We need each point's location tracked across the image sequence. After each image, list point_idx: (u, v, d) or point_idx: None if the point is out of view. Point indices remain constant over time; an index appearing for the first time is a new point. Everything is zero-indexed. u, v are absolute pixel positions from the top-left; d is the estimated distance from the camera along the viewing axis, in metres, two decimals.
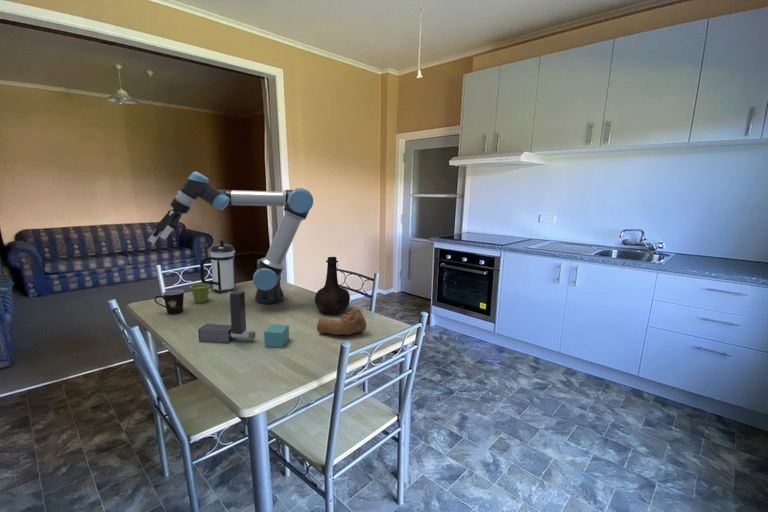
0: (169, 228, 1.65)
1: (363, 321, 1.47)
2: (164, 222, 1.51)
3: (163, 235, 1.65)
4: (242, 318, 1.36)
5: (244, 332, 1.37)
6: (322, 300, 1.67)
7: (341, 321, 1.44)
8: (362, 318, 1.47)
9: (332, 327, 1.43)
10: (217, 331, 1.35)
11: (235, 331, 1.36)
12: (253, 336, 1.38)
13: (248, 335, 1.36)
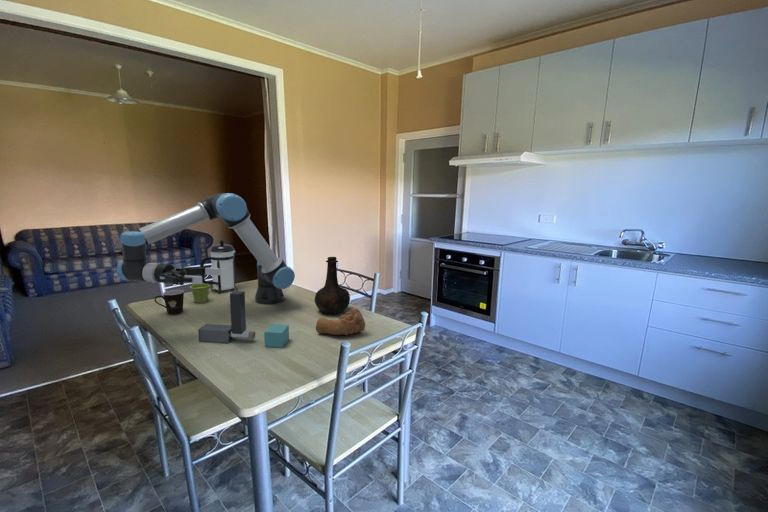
0: (206, 271, 1.41)
1: (362, 321, 1.47)
2: (169, 278, 1.26)
3: (217, 272, 1.41)
4: (242, 318, 1.36)
5: (244, 332, 1.37)
6: (322, 300, 1.67)
7: (340, 321, 1.44)
8: (361, 318, 1.47)
9: (331, 327, 1.43)
10: (217, 331, 1.35)
11: (235, 331, 1.36)
12: (253, 336, 1.38)
13: (248, 335, 1.36)
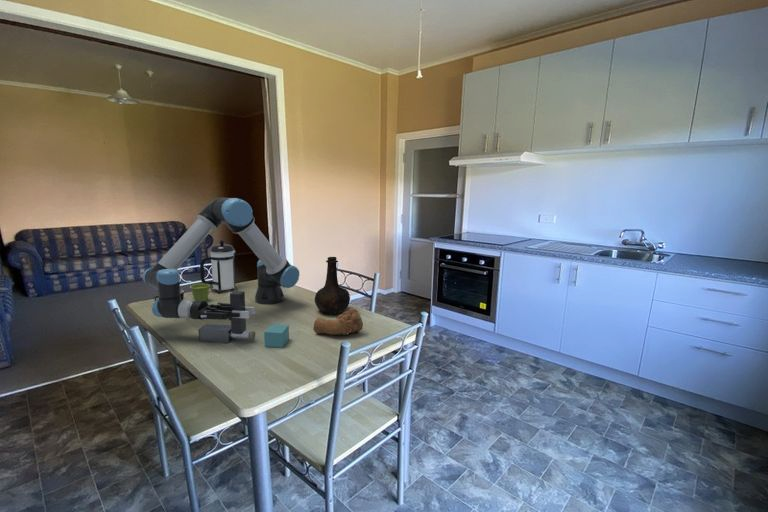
0: None
1: (360, 321, 1.47)
2: (216, 315, 1.31)
3: (250, 311, 1.38)
4: (242, 318, 1.36)
5: (244, 332, 1.37)
6: (322, 300, 1.67)
7: (338, 321, 1.44)
8: (359, 318, 1.47)
9: (329, 327, 1.43)
10: (217, 331, 1.35)
11: (235, 331, 1.36)
12: (253, 336, 1.38)
13: (248, 335, 1.36)
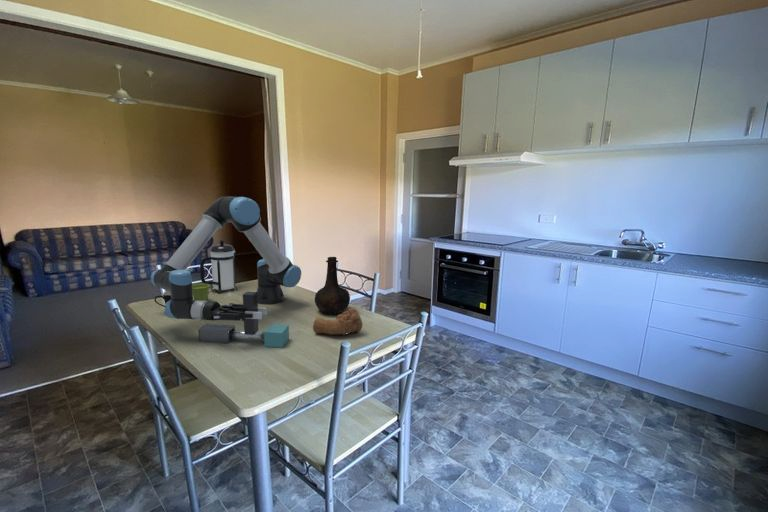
0: None
1: (359, 321, 1.47)
2: (229, 316, 1.31)
3: (263, 312, 1.38)
4: None
5: (257, 333, 1.37)
6: (322, 300, 1.67)
7: (337, 321, 1.44)
8: (358, 318, 1.47)
9: (328, 327, 1.43)
10: (217, 331, 1.35)
11: (248, 332, 1.36)
12: None
13: (261, 336, 1.36)
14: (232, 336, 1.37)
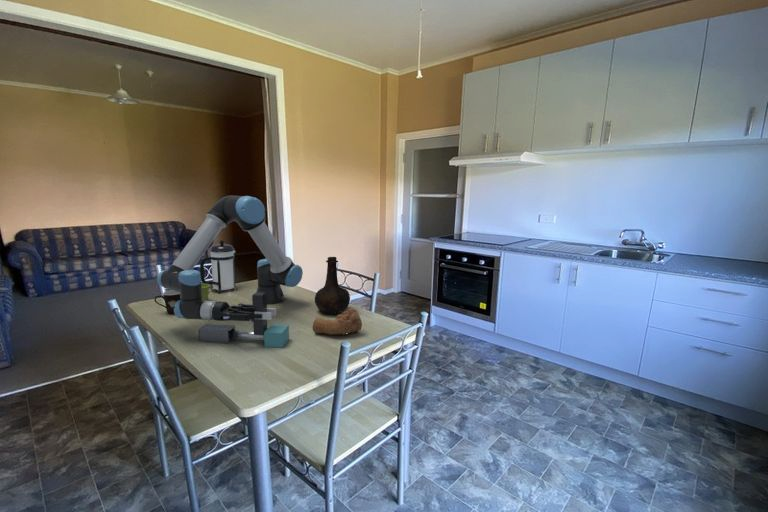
0: None
1: (359, 321, 1.47)
2: (239, 316, 1.30)
3: (272, 312, 1.38)
4: (264, 319, 1.35)
5: None
6: (322, 300, 1.67)
7: (337, 321, 1.44)
8: (358, 318, 1.47)
9: (328, 327, 1.43)
10: (217, 331, 1.35)
11: (257, 332, 1.35)
12: None
13: None
14: (241, 337, 1.37)
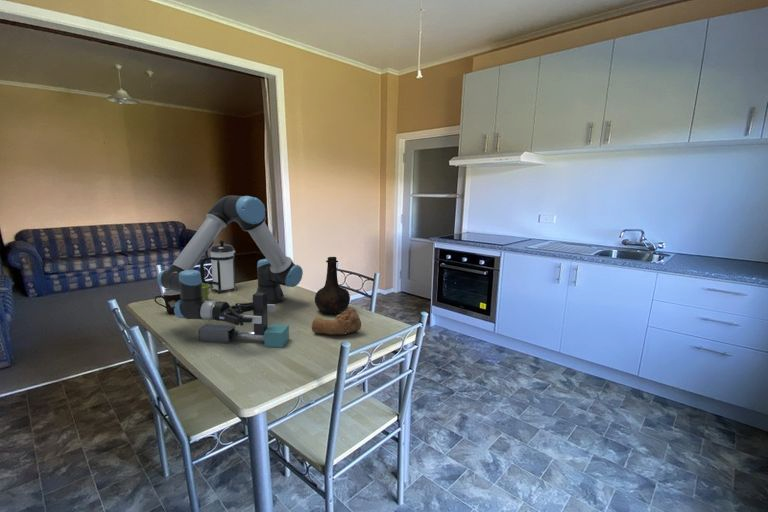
0: None
1: (358, 320, 1.47)
2: (230, 319, 1.28)
3: (271, 308, 1.42)
4: (264, 319, 1.35)
5: None
6: (322, 300, 1.67)
7: (336, 321, 1.44)
8: (357, 317, 1.47)
9: (327, 327, 1.43)
10: (217, 331, 1.35)
11: (257, 332, 1.35)
12: None
13: None
14: (242, 337, 1.37)
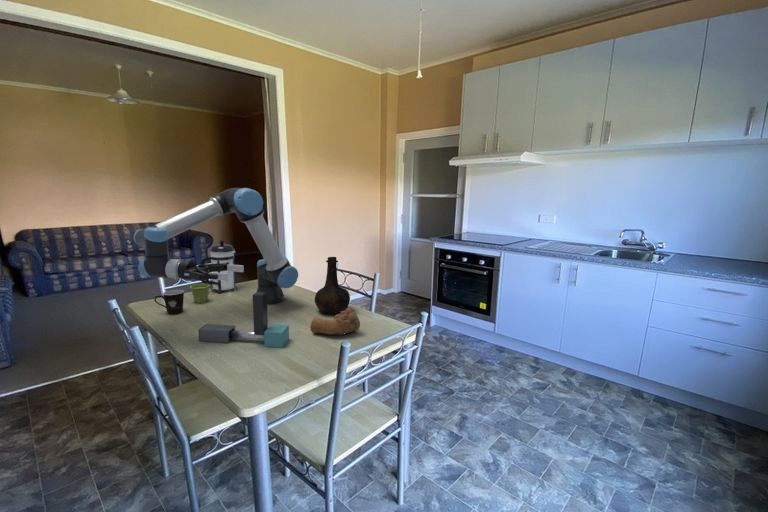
0: (228, 267, 1.41)
1: (357, 320, 1.47)
2: (195, 275, 1.26)
3: (239, 269, 1.41)
4: (264, 319, 1.35)
5: None
6: (322, 300, 1.67)
7: (335, 321, 1.44)
8: (356, 317, 1.47)
9: (326, 327, 1.43)
10: (217, 331, 1.35)
11: (257, 332, 1.35)
12: None
13: None
14: (242, 337, 1.37)
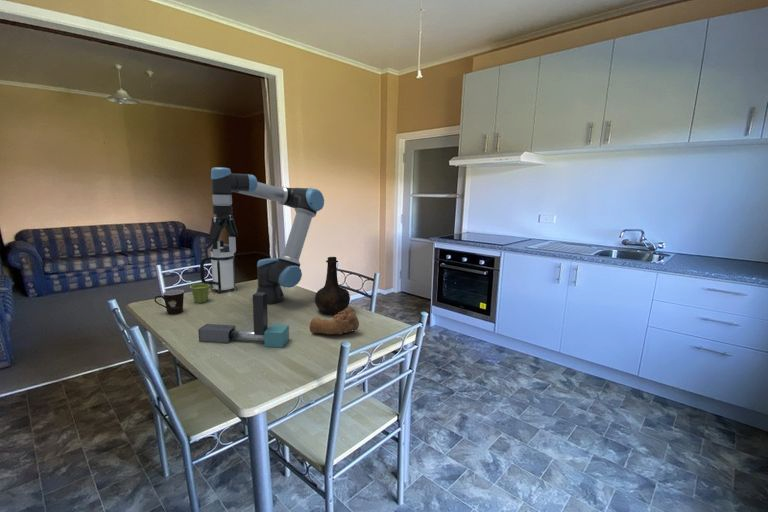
0: (232, 238, 1.56)
1: (356, 320, 1.47)
2: (213, 230, 1.40)
3: (231, 248, 1.57)
4: (264, 319, 1.35)
5: None
6: (322, 300, 1.67)
7: (334, 321, 1.44)
8: (355, 317, 1.47)
9: (325, 327, 1.43)
10: (217, 331, 1.35)
11: (257, 332, 1.35)
12: None
13: None
14: (242, 337, 1.37)
